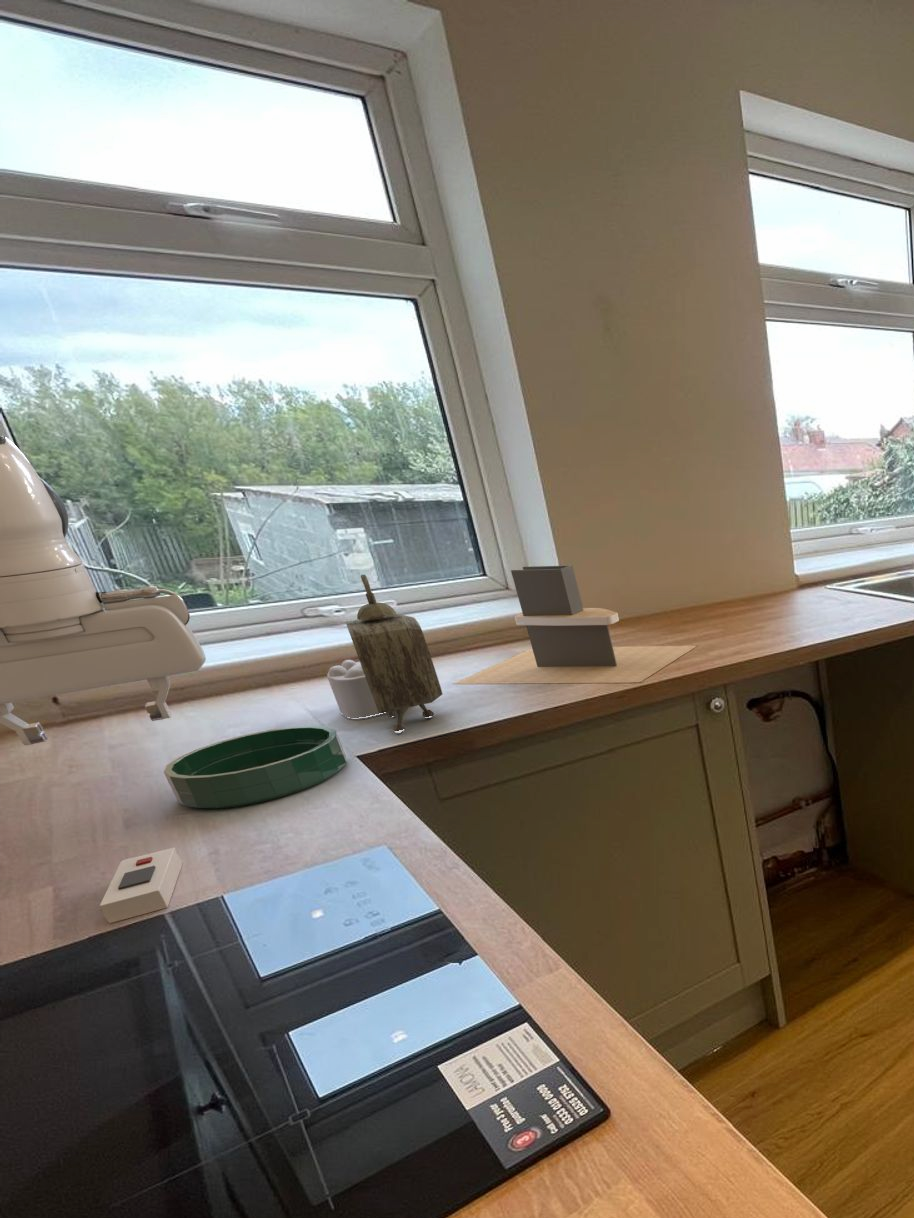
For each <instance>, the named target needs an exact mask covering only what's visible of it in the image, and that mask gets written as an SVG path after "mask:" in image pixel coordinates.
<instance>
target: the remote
mask: <svg viewBox="0 0 914 1218" xmlns="http://www.w3.org/2000/svg"><path fill="white" fill-rule="evenodd" d="M183 864H184V863H183V861H182V859H181V857H180V855H179V853H178V852H177V849H176V847H170V848H166V849H163V850H159V851H154V852H150V853H146V854H143V855H142V854H141V855H137V856H134V857H130V858H126V859H122V860H121V861H120V862H119V865H118V867H117V869H116V871H115V873H114V875H113V877H112V879H111V881H110V883H109V885H108V887H107V889H106V891H105V894H104V896H103V898H102V899H101V902H100V904H99V908H100V910H101V912H102V913H103V915H104V917H105V919H106V920H107V922H108V924H113V923H116V922H117V923H118V922H120V921H124V920H128V919H131V918H134V917H139V916H141V915H146V914H149V913H153V912H156V911H160V910H164V909H167V908H168V907H169V905H170V902H171V899H172V895H173V893H174V890H175V887H176V884H177V882H178V879H179V875H180V873H181V869H182V867H183Z"/></svg>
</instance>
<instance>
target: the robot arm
mask: <svg viewBox="0 0 914 1218" xmlns="http://www.w3.org/2000/svg"><path fill="white" fill-rule="evenodd" d="M68 530H69V514H68V511H67V507H66V505H65V503H64V501H63V500H62V499H61V496H60V495H59V494H58V493H57V492H56V491H55V489H54V488H53V487H52V486H50V484H49V483H47V482H46V480H44V479H43V478H42V477H40V476H39V475H38V473H37V471H36V469H35V468H34V467H33V465H32V464H31V462H30V461H29V460H28V458H27V457H26V456H25V455H24V453H23V452H22V450H20V449H19V448H18V446H17V445H15V443H13V441H11V439H9V438H8V436H7V437H6V436H5V435H2V434H0V725H2V726H4V727H6V728H8V729H10V730H11V731H15V733H16V734H17V737H18V738H19V739H20V742H21V743H22V745H23V746H30V745H31V746H32V745H35V744H41V743H45V742H47V740H48V738H49V737H48V734H47V732H46V731H44V730H43V729H44V727H43V725H42V724H41V722H40V721H39V722H33V723H32V722H31V723H28V722H27V721H25V720H23V719H21V718H19V717H18V716H17V715H15V714H13V713H11V712H12V711H13V710H14V709H15V706H14V705H13V703H17V702H24V701H29V700H35V699H41V698H45V697H51V696H52V697H53V696H57V695H64V694H68V693H75V692H81V691H87V690H93V689H99V688H104V687H109V686H110V687H111V686H117V685H123V684H128V683H134V682H140V681H145V680H146V681H147V683H148V684H149V686H150V688H151V689H153V690H154V689H155V690H156V689H158V691H157V694H156V699H155V700H154V701H148V702H146V703H145V705H144V708H145V710H146V713H147V714H149V719H150V720H151V721H152V722H155V721H161V720H165V719H171V717H172V712H171V710H170V707H169V706H168V704H167V701H166V700H167V698H168V694H169V690H170V687H171V684H172V681H171V678H170V676H176V675H181V674H182V675H183V674H189V673H193V672H197V671H199V670H201V668H202V667H203V666H204V664H205V663H206V660H207V659H206V654H205V651H204V650H203V648H202V646H201V644H200V642H199V640H198V638H197V637H196V635H195V634H194V632H193V631H192V629H191V628H190V627H189V625H188V624H189V622H190V618H191V615H190V612H189V610H188V607H187V605H186V602H185V601H184V599H183V598H182V597H181V596H180V595H179V594H177V593H175V592H174V591H172V590H169V589H162V588H158V586H142V587H139V588H134V589H123V590H122V589H118V590H109V591H101V592H98V591H97V589H96V587H95V585H94V582H92V581H93V580H91V577H90V575H89V573H88V571H87V568H86V567H85V565H84V563H83V561H82V559H81V558H80V556H78V555H77V553H76V552H75V551H74V550H73V549H72V548H71V547H70V545H69V544H68V542H67V540H66V537H67V534H68ZM162 594H165V595H162Z"/></svg>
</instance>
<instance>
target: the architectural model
mask: <svg viewBox="0 0 914 1218" xmlns="http://www.w3.org/2000/svg"><path fill="white" fill-rule="evenodd" d="M510 572H511V576H512V580H513V583H514V586H515V591H516V595H517V598H518V601H519V605H520V609H521V613H518V614H517V615H515V616H514V621H515V623H516V626H525V628H526V631H527V635H528V638H529V641H530V646H531V648H530V649H527V650H525V651H523V652H520V653H518V654H516V655H514V656H511V657H509V658H507V659H505V660H503V661H501V662H498V663H496V664H493V665H492V666H490V667H488V668H485V669H483V670H481V671H479V672H476V673H473V674H472V675H470V676H469V675H468V676H467V677H465V678H463V679H460V680H458V681H456V682H454V683H453V685H489V684H490V685H492V684H493V685H494V684H495V685H497V684H502V685H505V684H508V685H509V684H510V685H511V684H605V683H606V684H607V683H608V684H610V683H613V684H614V683H615V684H616V683H618V684H619V683H620V684H622V683H623V684H624V683H641V682H643V681H645V680H646V679H648V678H649V677H651V676H652V675H654V674H655V673H657V672H658V671H660V670H662V669H663V668H665V667H667V666H668V665H669V664H671V663H672V662H674V661H676V660H677V659H679V658H681V657H682V656H684V655H686V654H687V653H688V652H690V651H691V650H693V649H695V648H697V645H650V646H649V645H647V646H645V645H644V646H643V645H642V646H638V645H637V646H613V641H612V638H611V633H610V629H609V625H613V624H616V623H617V622H619V621H620V619H619V614H618V612H617V611H613V610H610V609H606V608H603V607H583V602H582V599H581V594H580V589H579V586H578V582H577V578H576V574H575V570H574V566H573V565H539V566H538V565H535V566H522V569H511V570H510Z"/></svg>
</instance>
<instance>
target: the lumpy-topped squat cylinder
mask: <svg viewBox="0 0 914 1218" xmlns="http://www.w3.org/2000/svg"><path fill="white" fill-rule="evenodd" d="M326 677H327V680H328V682H329V686H330V689H331V690H332V693H333V696H334V699H335V701H336V704H337V706H338V709H339V712H340V714H341V713H342V714H343V715H342V714H341V715H342V716H343V717H344V718H346V719H348V720H352V721H360V720H368V719H372V718H376V717H379V716H383V715H386V713H383V714H380V715H376V716H373V717H368V718H362V719H351V718H359V717H366V716H370V715H375V714H379V712H378V710H377V707H376V704H375V702H374V699H373V696H372V694H371V691H370V688H369V685H368V683H367V680H366V677H365V674H364V672H363V669H362V666H361V663H360V661H354V660H352V659H345V660H344V661H342V662H341V664H340V665H333V666H330V668H329V669H328V673H327V674H326ZM410 708H411V707H408V709H410ZM345 716H346V717H345ZM347 717H350V718H347Z"/></svg>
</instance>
